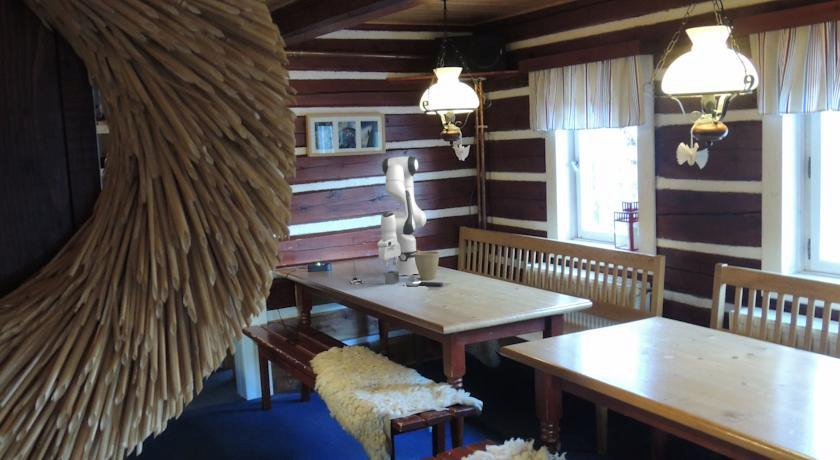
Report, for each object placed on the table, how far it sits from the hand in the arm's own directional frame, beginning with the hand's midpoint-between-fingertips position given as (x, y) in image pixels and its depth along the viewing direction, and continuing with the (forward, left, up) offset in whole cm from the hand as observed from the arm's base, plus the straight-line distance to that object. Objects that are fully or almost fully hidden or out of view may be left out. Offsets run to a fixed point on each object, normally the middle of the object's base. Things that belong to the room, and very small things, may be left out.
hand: (390, 265), depth 448 cm
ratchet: (+3, +22, -10) cm, 25 cm away
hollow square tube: (-1, 0, -11) cm, 11 cm away
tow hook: (-1, -23, -11) cm, 26 cm away
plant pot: (-17, +15, -11) cm, 25 cm away
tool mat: (+3, +22, -11) cm, 25 cm away
